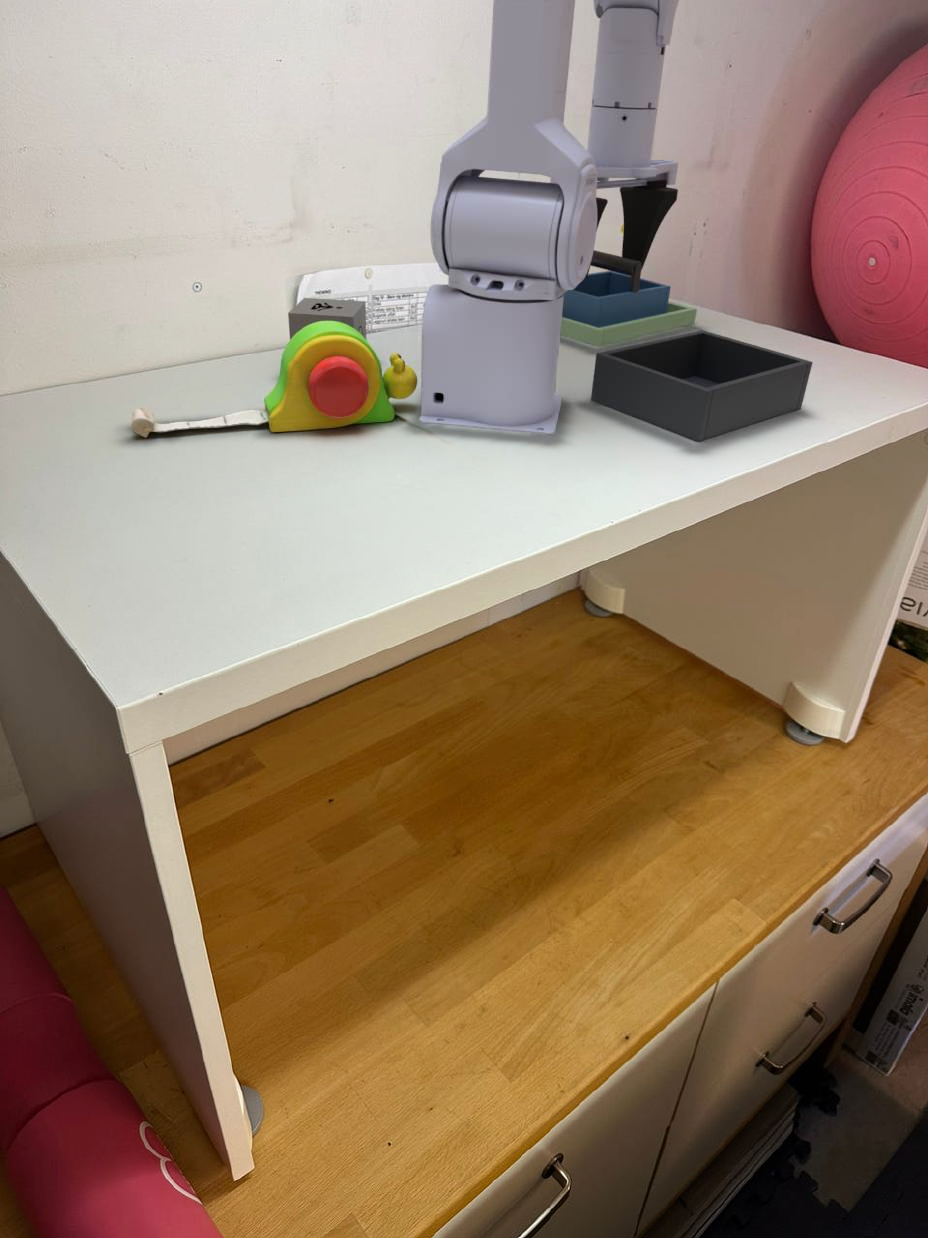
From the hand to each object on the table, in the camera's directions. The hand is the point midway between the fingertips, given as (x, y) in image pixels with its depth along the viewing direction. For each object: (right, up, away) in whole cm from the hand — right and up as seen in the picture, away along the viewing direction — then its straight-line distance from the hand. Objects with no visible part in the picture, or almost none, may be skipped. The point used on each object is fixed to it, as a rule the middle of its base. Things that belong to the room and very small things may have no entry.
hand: (605, 271), depth 84 cm
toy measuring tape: (-26, -20, -22) cm, 40 cm away
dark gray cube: (-24, -13, -12) cm, 30 cm away
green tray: (0, -4, +3) cm, 5 cm away
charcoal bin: (+4, -17, -17) cm, 25 cm away
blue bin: (0, -4, +2) cm, 5 cm away
